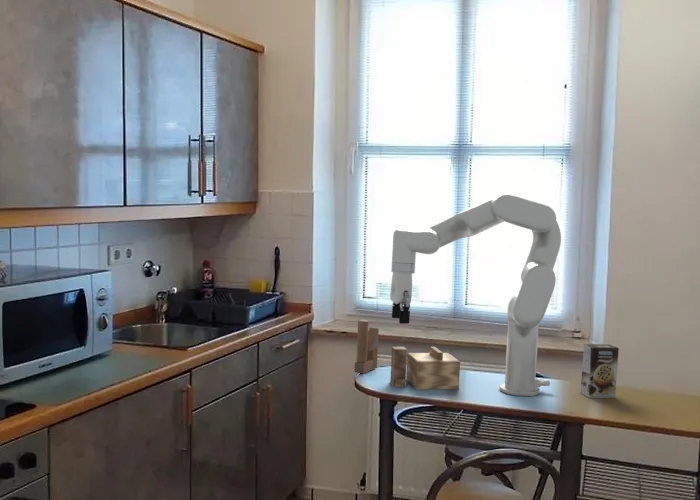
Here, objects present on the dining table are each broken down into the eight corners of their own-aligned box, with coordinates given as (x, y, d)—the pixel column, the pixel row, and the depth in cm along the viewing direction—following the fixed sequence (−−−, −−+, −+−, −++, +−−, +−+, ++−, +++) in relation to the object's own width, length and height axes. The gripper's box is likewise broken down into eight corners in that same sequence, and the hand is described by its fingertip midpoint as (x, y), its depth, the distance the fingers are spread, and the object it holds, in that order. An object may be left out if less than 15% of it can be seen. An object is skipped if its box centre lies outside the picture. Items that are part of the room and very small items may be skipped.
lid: (447, 355, 256) (448, 346, 256) (458, 363, 245) (459, 353, 245) (408, 355, 253) (408, 346, 253) (417, 363, 242) (417, 353, 242)
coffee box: (589, 398, 239) (592, 347, 238) (579, 392, 245) (582, 343, 244) (616, 398, 241) (619, 347, 239) (606, 392, 247) (609, 343, 246)
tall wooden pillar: (402, 382, 250) (403, 346, 249) (405, 385, 246) (406, 349, 245) (390, 382, 249) (391, 346, 248) (393, 386, 245) (394, 349, 244)
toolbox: (446, 378, 257) (447, 352, 257) (458, 388, 245) (460, 361, 244) (388, 379, 254) (389, 353, 253) (398, 389, 241) (399, 361, 240)
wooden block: (377, 368, 269) (379, 317, 268) (363, 374, 260) (365, 321, 258) (368, 366, 271) (370, 316, 270) (353, 372, 262) (355, 320, 260)
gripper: (385, 264, 253) (383, 315, 254) (398, 270, 236) (395, 325, 237) (407, 265, 254) (404, 316, 255) (421, 271, 237) (418, 325, 238)
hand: (400, 320), depth 246 cm, fingers open, 9 cm apart
